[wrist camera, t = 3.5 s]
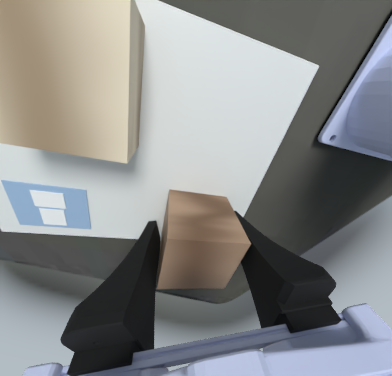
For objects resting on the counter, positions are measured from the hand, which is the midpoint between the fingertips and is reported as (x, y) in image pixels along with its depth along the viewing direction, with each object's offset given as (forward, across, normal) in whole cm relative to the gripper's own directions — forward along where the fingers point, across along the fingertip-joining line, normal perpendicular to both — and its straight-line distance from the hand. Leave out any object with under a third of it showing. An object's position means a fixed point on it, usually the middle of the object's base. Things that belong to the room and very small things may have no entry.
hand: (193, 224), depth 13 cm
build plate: (+2, +4, -6) cm, 7 cm away
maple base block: (+1, +5, -10) cm, 12 cm away
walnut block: (+1, 0, 0) cm, 1 cm away
